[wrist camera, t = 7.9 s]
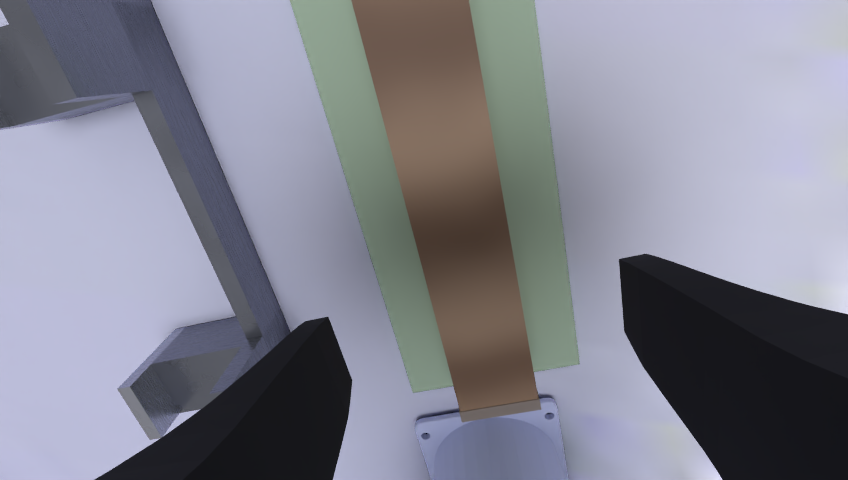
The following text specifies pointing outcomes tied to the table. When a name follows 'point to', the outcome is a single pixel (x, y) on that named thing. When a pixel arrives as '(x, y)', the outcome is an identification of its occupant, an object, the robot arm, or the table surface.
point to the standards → (185, 161)
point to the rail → (452, 194)
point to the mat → (517, 163)
